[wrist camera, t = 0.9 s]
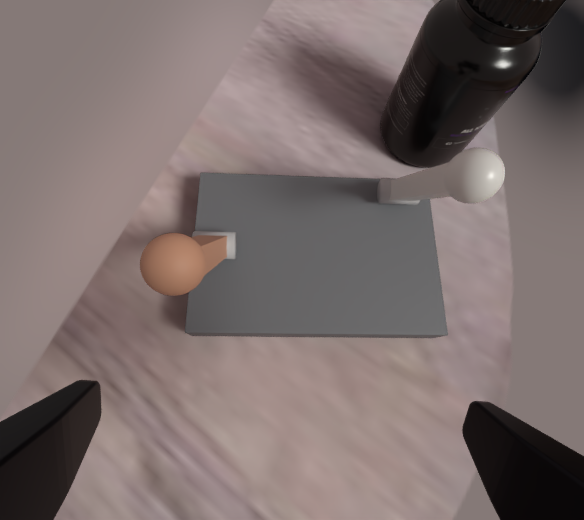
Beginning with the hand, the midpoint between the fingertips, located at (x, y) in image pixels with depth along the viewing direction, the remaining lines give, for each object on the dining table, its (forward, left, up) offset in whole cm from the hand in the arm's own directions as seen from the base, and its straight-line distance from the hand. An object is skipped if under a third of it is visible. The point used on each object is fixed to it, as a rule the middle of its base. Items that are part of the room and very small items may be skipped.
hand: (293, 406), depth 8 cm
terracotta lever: (+8, +4, -10) cm, 14 cm away
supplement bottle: (+19, -11, -14) cm, 26 cm away
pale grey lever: (+12, -7, -10) cm, 17 cm away
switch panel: (+8, -2, -13) cm, 16 cm away
